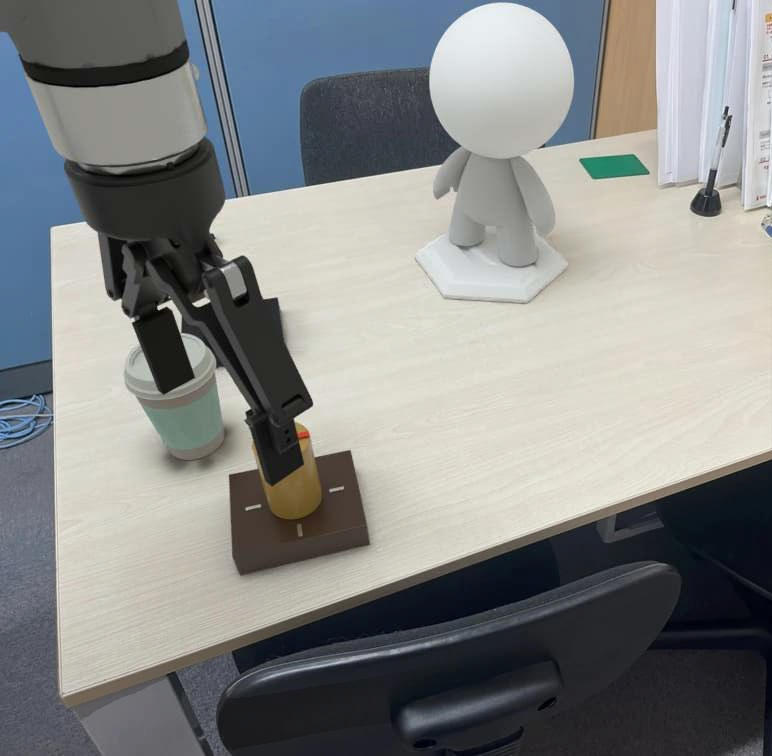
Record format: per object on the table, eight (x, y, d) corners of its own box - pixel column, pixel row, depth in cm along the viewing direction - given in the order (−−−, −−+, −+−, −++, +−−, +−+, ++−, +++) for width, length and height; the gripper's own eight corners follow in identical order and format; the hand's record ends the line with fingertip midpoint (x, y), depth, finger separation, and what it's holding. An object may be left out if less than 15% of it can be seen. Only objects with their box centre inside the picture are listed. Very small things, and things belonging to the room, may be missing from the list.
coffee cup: (224, 403, 82) (198, 320, 74) (247, 450, 77) (222, 365, 69) (146, 430, 78) (110, 345, 70) (165, 482, 73) (128, 396, 65)
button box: (185, 372, 86) (176, 346, 83) (186, 324, 93) (177, 299, 90) (287, 355, 89) (281, 330, 86) (280, 310, 96) (275, 285, 93)
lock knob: (270, 525, 66) (252, 464, 60) (266, 485, 69) (249, 424, 64) (325, 512, 67) (312, 452, 61) (319, 474, 70) (306, 414, 65)
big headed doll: (586, 251, 110) (617, 3, 87) (504, 323, 95) (515, 47, 72) (480, 214, 118) (483, -23, 95) (389, 275, 103) (366, 12, 80)
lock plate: (239, 575, 65) (231, 555, 63) (235, 493, 72) (228, 473, 70) (370, 544, 68) (367, 524, 66) (353, 468, 75) (350, 448, 73)
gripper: (345, 196, 34) (382, 483, 48) (92, 72, 46) (181, 332, 60) (207, 256, 30) (291, 553, 44) (-34, 102, 42) (93, 375, 56)
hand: (227, 426), depth 52 cm, fingers open, 13 cm apart
